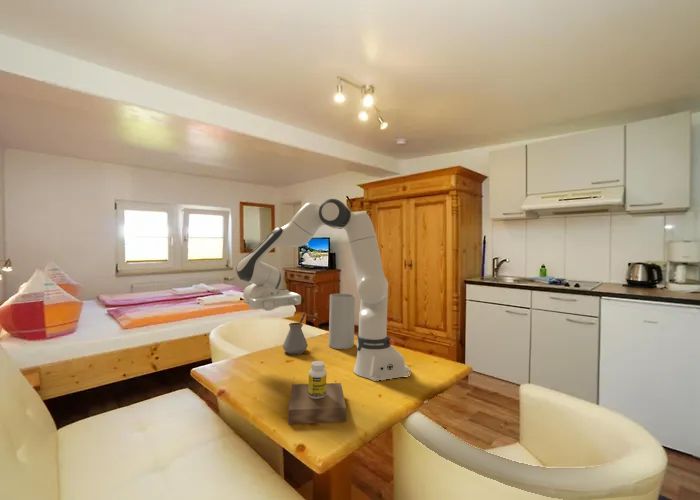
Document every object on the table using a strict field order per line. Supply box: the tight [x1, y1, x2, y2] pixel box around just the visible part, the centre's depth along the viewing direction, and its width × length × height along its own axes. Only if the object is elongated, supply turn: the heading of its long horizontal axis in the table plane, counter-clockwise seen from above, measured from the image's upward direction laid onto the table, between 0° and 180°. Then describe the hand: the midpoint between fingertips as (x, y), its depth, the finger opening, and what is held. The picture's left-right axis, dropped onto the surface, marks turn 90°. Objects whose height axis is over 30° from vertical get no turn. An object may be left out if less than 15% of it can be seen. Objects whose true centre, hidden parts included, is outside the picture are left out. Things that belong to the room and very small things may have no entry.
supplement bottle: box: [307, 360, 327, 399], centre depth 96 cm, size 5×5×10 cm
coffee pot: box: [282, 312, 308, 355], centre depth 152 cm, size 21×12×15 cm, turn 172°
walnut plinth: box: [287, 382, 347, 425], centre depth 96 cm, size 16×16×4 cm
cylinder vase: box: [328, 293, 356, 350], centre depth 157 cm, size 12×12×25 cm
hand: (285, 304), depth 115 cm, fingers open, 8 cm apart
